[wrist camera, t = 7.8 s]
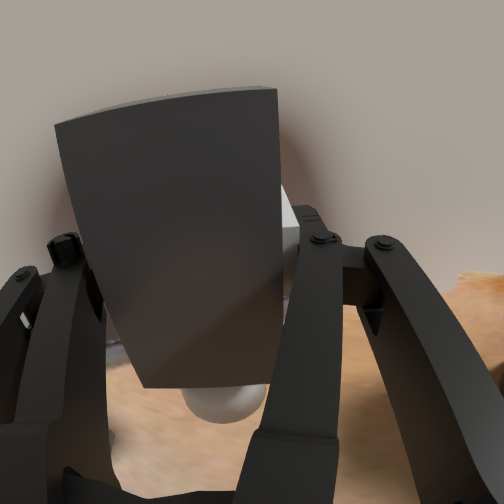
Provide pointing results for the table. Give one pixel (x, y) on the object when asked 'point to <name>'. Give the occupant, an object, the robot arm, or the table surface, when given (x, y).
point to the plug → (186, 238)
